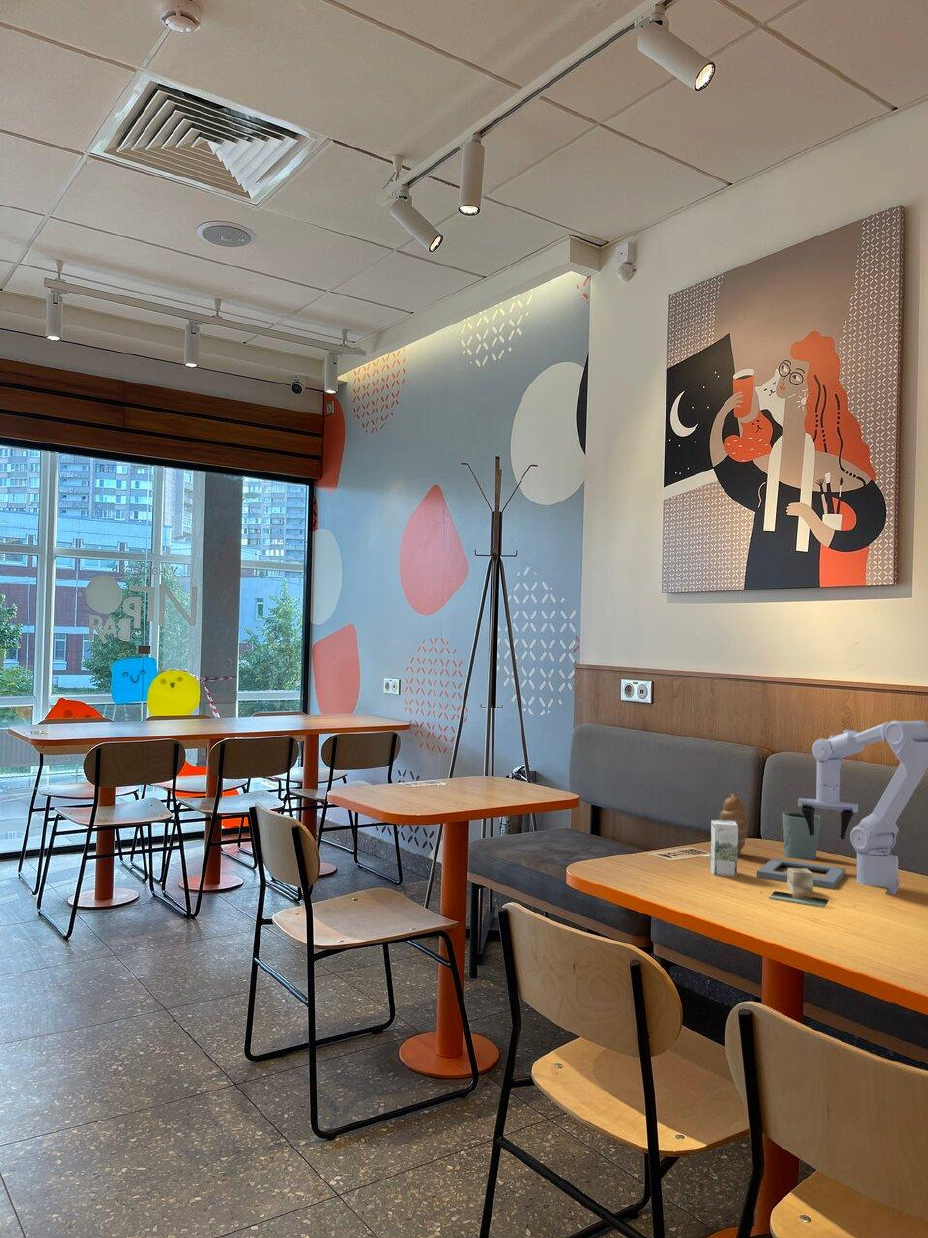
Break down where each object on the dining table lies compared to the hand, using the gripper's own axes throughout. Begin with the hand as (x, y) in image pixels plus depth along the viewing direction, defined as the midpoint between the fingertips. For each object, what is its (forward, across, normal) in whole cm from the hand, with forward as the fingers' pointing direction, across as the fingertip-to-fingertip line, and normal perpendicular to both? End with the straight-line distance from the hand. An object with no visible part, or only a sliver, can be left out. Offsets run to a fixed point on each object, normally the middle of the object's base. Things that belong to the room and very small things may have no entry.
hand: (827, 836), depth 238 cm
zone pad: (+10, +1, +29) cm, 31 cm away
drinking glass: (+10, +10, -18) cm, 23 cm away
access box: (+10, +4, +12) cm, 16 cm away
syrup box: (+10, +21, +22) cm, 32 cm away
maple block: (+10, +1, +29) cm, 30 cm away
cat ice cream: (+10, +25, -2) cm, 27 cm away
